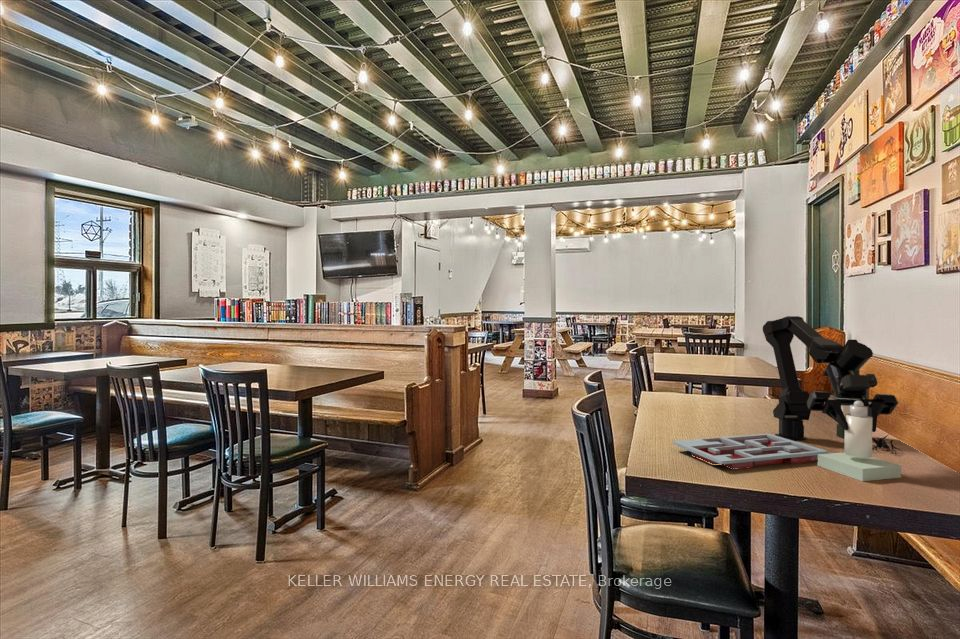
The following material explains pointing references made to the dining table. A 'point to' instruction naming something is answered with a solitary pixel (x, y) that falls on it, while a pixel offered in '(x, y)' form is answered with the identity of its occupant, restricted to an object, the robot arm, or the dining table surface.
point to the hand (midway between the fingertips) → (860, 430)
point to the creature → (883, 444)
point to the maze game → (750, 450)
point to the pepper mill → (858, 432)
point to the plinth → (859, 466)
